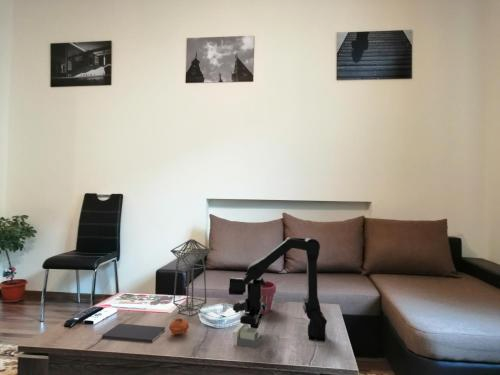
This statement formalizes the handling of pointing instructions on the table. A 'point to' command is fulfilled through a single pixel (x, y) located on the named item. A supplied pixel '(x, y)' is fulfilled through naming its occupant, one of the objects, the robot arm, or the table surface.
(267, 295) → the plant pot
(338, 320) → the table surface
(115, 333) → the notebook
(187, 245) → the geometric lantern
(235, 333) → the cleat board
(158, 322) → the table surface
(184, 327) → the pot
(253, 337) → the cabinet block
